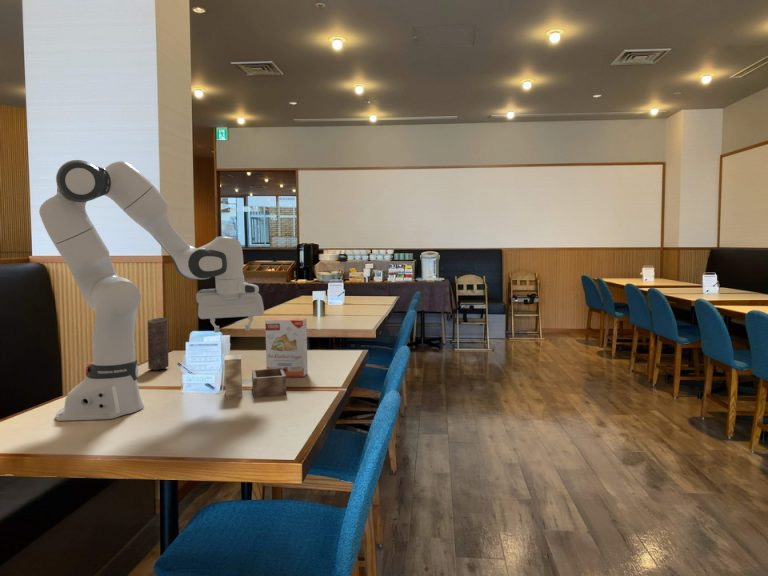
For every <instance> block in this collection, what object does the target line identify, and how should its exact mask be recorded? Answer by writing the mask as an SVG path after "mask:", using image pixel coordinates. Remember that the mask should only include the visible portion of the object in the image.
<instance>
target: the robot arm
mask: <svg viewBox="0 0 768 576" xmlns="http://www.w3.org/2000/svg"><path fill="white" fill-rule="evenodd" d="M55 180H56V181H55V182H56V187H57V188H56V194H55V195H54V196H52V197H49V198H48V199H46V200H45V201H44V202H42V204H41V205H40V207H39V216H40V218H41V221H42V224H43V226H44V228H45V231H46V233H47V236H49V239H50V240H51V242H52V243H53V245H54V248H56V250H57V252H58V253H59V254H60V256H61V258H62V259H63V261H64V263H65V264H66V265H67V268H68V269H69V271H70V273H71V275H72V277H73V279H74V281H75V283H76V286H77V287H78V289H79V291H80V294H81V296H82V297H83V299H84V301H85V303H86V305H87V306H88V307H89V308H90V309H91V310H93V311H94V312H95V316H94V317H95V318H94V328H93V332H92V335H91V344H92V345H91V346H92V362H89V363H88V364H87V365H86V367H85V370H84V371H85V372H84V373H85V376H86V377H85V378H84V379H83V380H82V381H80V382H79V383H78V384H77V385H76V386H74V387H73V388H72V389H71V390H70V391H69V392H68V393H67V394H66V397H65V401H64V407H62V408H61V409H59V410H58V411H57V412H56V414H55V420H56V421H58V422H59V421H60V422H61V421H62V422H65V421H91V420H112V419H116V418H119V417H121V416H125V415H128V414H133V413H135V412H138V411H140V410H142V409H143V408H144V403H143V401H142V397H141V393H140V389H139V384H138V377H139V367H138V366H139V365H138V360H137V359H136V343H135V334H136V333H135V332H136V323H137V317H138V307H139V305H140V303H141V298H142V297H141V296H142V295H141V292H140V289H139V287H138V286H137V285H136V284H135V283H134V282H132V281H131V280H129V279H128V278H125V277H121V276H119V275H118V274H117V272H116V269H115V267H114V264H113V261H112V259H111V255H110V251H109V249H108V247H107V245H106V244H105V242H104V241H103V240H102V238H101V235H100V234H99V232H98V231H97V229H96V227H95V226H94V223H93V222H92V221H91V219H90V217H89V215H88V214H87V210H86V204H87V202H91V201H93V200H95V199H98V198H100V197H103V196H105V197H108V198H109V199H110V200H112V201H113V202H114V203H115V204H116V205H117V206H118V207H119V208H120V209H121V210H122V211H123V212H124V213H125V214H126V215H127V216H128V217H129V218H130V219H131V220H133V222H135V223H136V224H137V225H139V226H140V227H142V228H143V229H144V230H145V231H147V232H148V233H149V234H150V235H151V236H152V237H153V238H154V240H155V241H156V242H157V243H158V244H159V245H160V246H161V247H162V248H163V249H164V250H165V252H166V253H167V254H168V255H169V257H170V258H171V260H172V262H173V265H174V268H175V269H176V272H177V273H178V274H179V275H180V276H181V277H183V278H184V279H186V280H207V279H210V278H215V279H214V280H215V288H207V289H205V288H203V289H200V290H198V291H197V292H196V294H195V296H196V297H195V298H196V299H195V300H196V303H197V304H198V308H197V309H198V310H197V315H198V316H197V317H198V318H199V319H200V320H207V319H208V320H210V321H209V322H210V324H211V325H212V326H213V327H214V329H213V330H214V333H220V325H216V323H215V322H216V319H223V318H224V319H225V318H241V317H242V318H244V317H248V320H249V321H248V323H246V324H245V325H244V327H245V328H244V330H245V331H251V325H252V322H253V320H254V317H258V316H263V315H264V313H265V308H264V307H265V306H264V302H263V298H262V295H261V294H260V293H259V292H260V288H259V285H257V284H253V283H250V282H246V281H245V275H244V271H243V270H244V269H243V268H244V265H245V264H244V253H243V248H242V243H241V241H240V240H239V239H237V238H234V237H230V236H223V235H221V236H216V237H215V238H214V239H212V241H210V242H208V243H206V244H204V245H202V246H199V247H194V246H192V245H189V244H188V243H187V241H185V239H183V237H182V236H181V235H180V234H179V233H178V232H177V230H175V228H174V227H173V226H172V224H171V222H170V221H169V216H168V213H169V212H168V211H169V206H168V203H167V201H166V199H165V198H164V196H163V195H162V193H161V192H160V190H158V188H157V187H156V186H155V185H154V183H152V182H151V181H150V179H148V178H147V177H146V176H145V175H144V174H142V173H141V172H140V171H139V170H138V169H137V168H136V167H134V166H133V165H132V164H130V163H128V162H126V161H123V160H121V161H120V160H119V161H115V162H112V163H110V164H108V165H107V166H106V167H102V166H99V165H96V164H93V163H91V162H88V161H85V160H81V159H73V160H68V161H66V162H64V163H63V164H62V165H61V166H59V169H58V170H57V172H56V176H55Z"/></svg>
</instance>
